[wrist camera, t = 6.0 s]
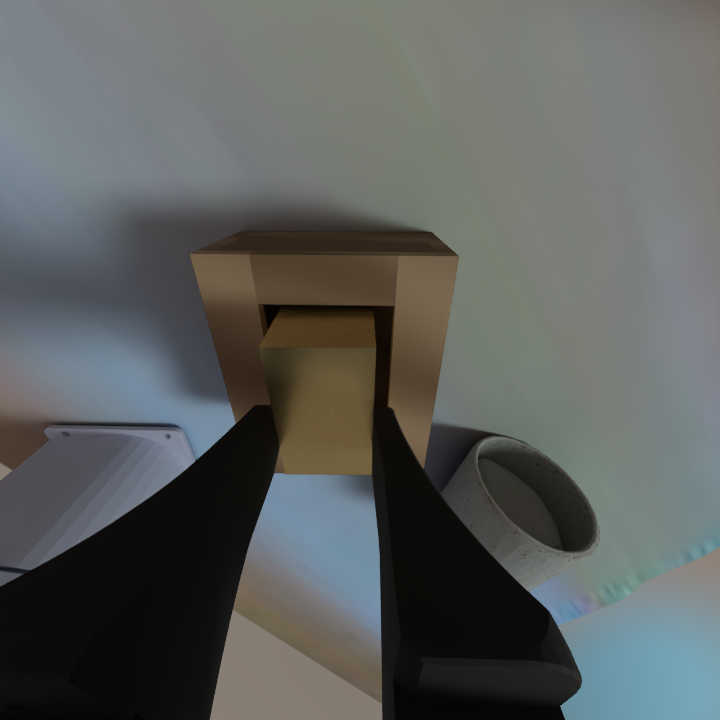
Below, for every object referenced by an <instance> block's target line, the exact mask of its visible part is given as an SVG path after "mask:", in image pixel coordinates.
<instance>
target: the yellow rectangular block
mask: <svg viewBox="0 0 720 720" xmlns="http://www.w3.org/2000/svg"><path fill="white" fill-rule="evenodd" d="M259 351H260V356H261V360H262V365H263V370H264V375H265V380H266V384H267V389H268V394H269V399H270V404H271V407H272V412H273V417H274V421H275V426H276V431H277V436H278V441H279V445H280V452H281V457H282V461H283V466H284V471H285V474H321V475H371V473H372V436H373V408H374V393H375V367H376V338H375V325H374V312H373V306H367V305H282V306H281V308H280V310H279V311H278V313H277V315H276V317H275V319H274V321H273V322H272V324H271V326H270V328H269V330H268V331H267V333H266V335H265V337H264V339H263V341H262V342H261V344H260V346H259Z"/></svg>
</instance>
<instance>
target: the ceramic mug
mask: <svg viewBox="0 0 720 720" xmlns="http://www.w3.org/2000/svg"><path fill="white" fill-rule="evenodd" d="M440 494H441V496H442V497H443V498H444V500H445V501H446V502H447V504H448V505H449V506H450V507H451V509H452V510H453V511H454V512H455V514H456V515H457V516H458V517H459V519H460V520H461V521H462V522H463V523H464V525H465V526H466V527H467V528H468V529H469V530H470V531H471V532H472V534H473V535H474V536H475V537H476V538H477V539H478V540H479V542H480V543H481V544H482V545H483V546H484V547H485V548H486V549H487V551H488V552H489V553H490V554H491V555H492V556H493V557H494V558H495V559H496V560H497V561H498V562H499V563H500V564H501V565H502V566H503V567H504V568H505V569H506V570H507V571H508V572H509V573H510V574H511V575H512V576H513V577H514V578H515V579H516V580H517V581H518V582H519V583H520V584H521V585H522V586H523V587H524V588H525V589H526V590H527V591H530V590H532V589H533V588H535V587H536V586H538V585H539V584H541V583H543V582H545V581H547V580H549V579H551V578H553V577H554V576H556V575H558V574H560V573H562V572H564V571H566V570H568V569H569V568H571V567H573V566H575V565H577V564H579V563H581V562H583V561H585V560H586V559H588V558H589V557H590V556H591V555H592V554H593V553H594V552H595V550H596V549H597V547H598V543H599V539H600V530H599V525H598V520H597V518H596V515H595V512H594V510H593V508H592V506H591V504H590V503H589V501H588V499H587V497H586V496H585V494H584V493H583V492H582V490H581V489H580V488H579V487H578V485H577V484H576V483H575V482H574V481H573V480H572V479H571V477H570V476H569V475H568V474H567V473H566V472H565V471H564V470H563V469H562V468H561V467H560V466H558V465H557V464H556V463H555V462H553V461H552V460H551V459H550V458H549V457H547V456H546V455H544V454H542V453H541V452H540V451H538V450H537V449H535V448H533V447H531V446H529V445H527V444H525V443H523V442H521V441H518V440H515V439H512V438H508V437H504V436H489V437H486V438H483V439H481V440H480V441H479V442H477V443H476V444H475V445H474V446H473V448H472V449H471V451H470V452H469V454H468V455H467V457H466V458H465V459H464V461H463V462H462V463H461V465H460V466H459V467H458V469H457V470H456V472H455V473H454V475H453V476H452V478H451V479H450V481H449V482H448V484H447V485H446V487H445V488H444V489H443V490H442V492H441V493H440Z"/></svg>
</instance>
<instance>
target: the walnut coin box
mask: <svg viewBox="0 0 720 720" xmlns="http://www.w3.org/2000/svg"><path fill="white" fill-rule="evenodd" d="M190 257H191V261H192V265H193V268H194V272H195V276H196V279H197V283H198V287H199V290H200V294H201V298H202V301H203V305H204V308H205V312H206V316H207V319H208V323H209V327H210V330H211V334H212V338H213V341H214V345H215V349H216V352H217V356H218V359H219V363H220V367H221V370H222V374H223V378H224V381H225V385H226V389H227V392H228V396H229V400H230V403H231V407H232V411H233V414H234V418H235V421H236V423H237V422H238V421H239V420H240V419H241V418H242V417H243V416H244V415H245V414H246V413H247V412H248V411H249V410H250V409H251V408H252V407H254V406H255V405H271V404H270V399H269V394H268V389H267V384H266V380H265V375H264V370H263V365H262V360H261V356H260V351H259V346H260V344H261V342H262V341H263V339H264V337H265V335H266V333H267V331H268V330H269V328H270V326H271V324H272V322H273V321H274V319H275V317H276V315H277V313H278V311H279V310H280V308H281V306H282V305H367V306H373V312H374V325H375V338H376V367H375V393H374V407H391V408H392V409H393V410H394V412H395V415H396V418H397V420H398V423H399V425H400V427H401V430H402V432H403V434H404V436H405V438H406V440H407V442H408V444H409V445H410V447H411V449H412V451H413V453H414V454H415V456H416V458H417V460H418V461H419V463H420V465H421V466H422V468H423V469H424V465H425V459H426V453H427V447H428V441H429V435H430V429H431V423H432V417H433V411H434V405H435V399H436V393H437V387H438V381H439V375H440V369H441V363H442V356H443V350H444V344H445V338H446V332H447V326H448V320H449V314H450V308H451V302H452V296H453V290H454V284H455V278H456V272H457V266H458V260H459V256H458V255H457V254H456V253H455V252H454V251H452V250H451V249H450V248H449V247H448V246H447V245H446V244H445V243H443V242H442V241H441V240H440V239H439V238H438V237H437V236H435V235H434V234H433V233H432V232H315V231H241V232H238V233H236V234H234V235H232V236H229V237H227V238H225V239H223V240H220V241H218V242H216V243H213V244H211V245H209V246H207V247H204V248H202V249H200V250H198V251H195V252H193V253H191V254H190ZM274 473H285V471H284V466H283V461H282V457H281V452H280V449H279V454H278V458H277V463H276V467H275V471H274ZM371 475H372V473H371Z"/></svg>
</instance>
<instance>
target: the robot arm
mask: <svg viewBox="0 0 720 720" xmlns="http://www.w3.org/2000/svg"><path fill="white" fill-rule="evenodd" d="M44 432H45V434H46V436H47V437H48V439H49V441H48V442H47V443H45V444H44V445H43V446H42V447H41V448H39V449H38V450H37V451H36V452H35V453H33V454H32V455H31V456H30V457H29V458H27V459H26V460H25V461H24V462H23V463H21V464H20V465H19V466H18V467H17V468H15V469H14V470H13V471H12V472H10V473H9V474H8V475H7V476H6V477H5V478H3V479H2V480H1V481H0V720H210V715H211V709H212V704H213V699H214V694H215V689H216V684H217V679H218V674H219V669H220V664H221V660H222V655H223V650H224V646H225V641H226V637H227V632H228V628H229V623H230V619H231V614H232V610H233V606H234V602H235V598H236V593H237V589H238V585H239V581H240V577H241V573H242V569H243V565H244V562H245V558H246V554H247V550H248V547H249V544H250V540H251V537H252V534H253V532H254V529H255V526H256V523H257V520H258V518H259V515H260V512H261V509H262V506H263V504H264V501H265V498H266V495H267V492H268V489H269V487H270V484H271V481H272V478H273V475H274V471H275V467H276V463H277V458H278V454H279V449H280V445H279V441H278V436H277V431H276V426H275V421H274V417H273V412H272V407H271V405H255V406H254V407H252V408H251V409H250V410H249V411H248V412H247V413H246V414H245V415H244V416H243V417H242V418H241V419H240V420H239V421H238V422H237V423H236V424H235V425H234V426H233V427H232V428H231V429H230V430H229V431H228V432H227V433H226V434H225V435H224V436H223V437H222V438H220V439H219V440H218V441H217V442H216V443H215V444H214V445H213V446H212V447H211V448H210V449H209V450H208V451H207V452H205V453H204V454H203V455H202V456H201V457H200V458H198V459H197V460H196V461H195V459H194V456H193V454H192V451H191V449H190V446H189V444H188V441H187V439H186V436H185V434H184V432H183V430H181V429H180V428H177V427H131V426H76V425H50V426H49V427H47V428H46V429H45V430H44ZM372 478H373V488H374V498H375V508H376V517H377V527H378V537H379V550H380V588H381V644H382V713H383V714H382V717H383V720H565V718H564V716H563V713H562V710H561V707H560V706H561V705H562V704H563V703H564V702H566V701H567V700H568V699H569V698H571V697H572V696H573V695H574V694H575V693H577V691H578V690H579V689H580V687H581V684H582V678H581V674H580V672H579V670H578V667H577V665H576V663H575V660H574V658H573V656H572V653H571V651H570V649H569V647H568V645H567V643H566V641H565V640H564V637H563V636H562V634H561V632H560V630H559V628H558V626H557V624H556V623H555V621H554V619H553V617H552V615H551V614H550V612H549V611H548V610H547V609H546V608H545V607H544V606H543V605H542V604H541V603H540V602H539V601H538V600H537V599H536V598H535V597H533V596H532V595H531V594H530V593H529V592H528V591H527V590H526V589H525V588H524V587H523V586H522V585H521V584H520V583H519V582H518V581H517V580H516V579H515V578H514V577H513V576H512V575H511V574H510V573H509V572H508V571H507V570H506V569H505V568H504V567H503V566H502V565H501V564H500V563H499V562H498V561H497V560H496V559H495V558H494V557H493V556H492V555H491V554H490V553H489V552H488V551H487V549H486V548H485V547H484V546H483V545H482V544H481V543H480V542H479V540H478V539H477V538H476V537H475V536H474V535H473V534H472V532H471V531H470V530H469V529H468V528H467V527H466V526H465V525H464V523H463V522H462V521H461V520H460V519H459V517H458V516H457V515H456V514H455V512H454V511H453V510H452V509H451V507H450V506H449V505H448V504H447V502H446V501H445V500H444V498H443V497H442V496H441V494H440V493H439V492H438V490H437V489H436V487H435V486H434V484H433V483H432V481H431V480H430V479H429V477H428V475H427V474H426V472H425V471H424V469H423V468H422V466H421V465H420V463H419V461H418V460H417V458H416V456H415V454H414V453H413V451H412V449H411V447H410V445H409V444H408V442H407V440H406V438H405V436H404V434H403V432H402V430H401V427H400V425H399V423H398V420H397V418H396V415H395V412H394V410H393V409H392V408H391V407H374V408H373V436H372Z"/></svg>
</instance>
